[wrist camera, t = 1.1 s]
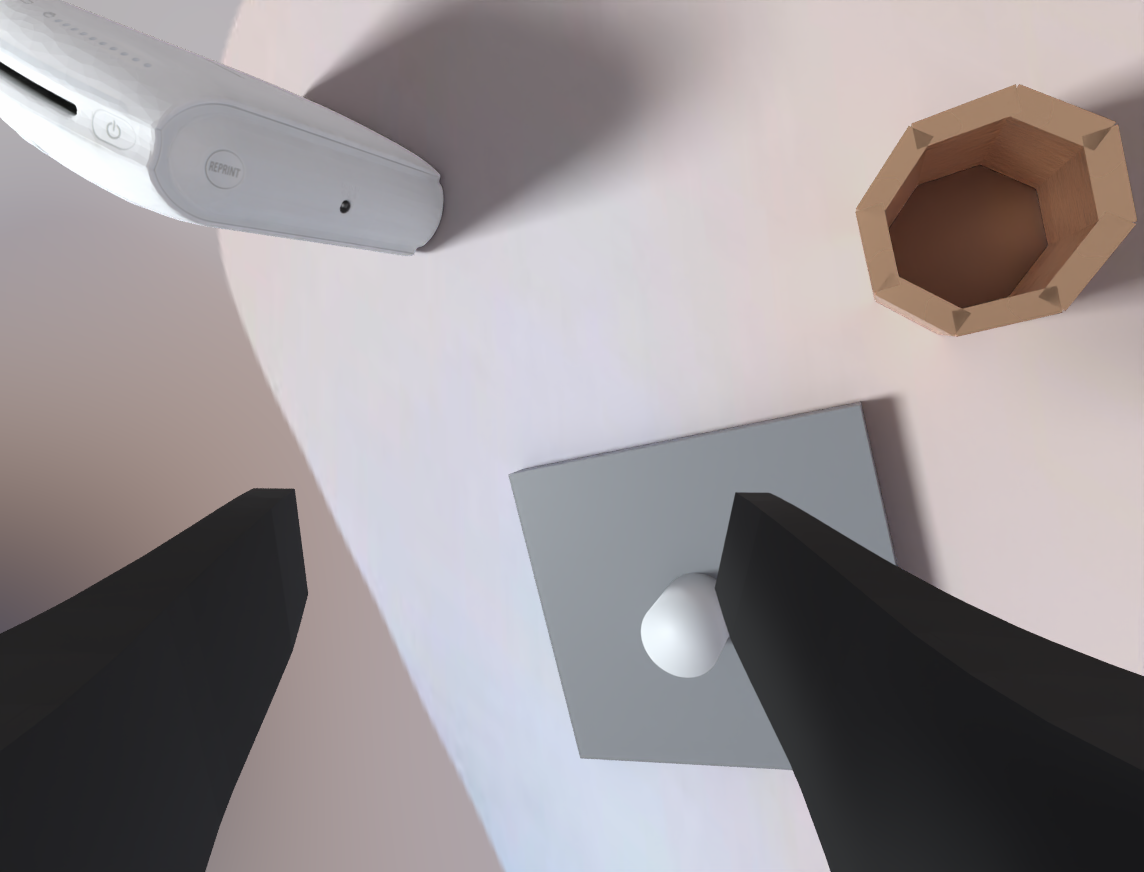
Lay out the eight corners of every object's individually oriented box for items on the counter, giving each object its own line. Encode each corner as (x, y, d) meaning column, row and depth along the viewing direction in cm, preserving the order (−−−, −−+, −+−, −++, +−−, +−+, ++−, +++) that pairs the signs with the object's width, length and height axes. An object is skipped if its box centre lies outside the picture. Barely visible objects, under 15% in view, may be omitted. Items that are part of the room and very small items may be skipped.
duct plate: (860, 401, 20) (857, 415, 17) (940, 758, 20) (951, 836, 17) (521, 469, 26) (471, 489, 23) (590, 743, 26) (551, 799, 23)
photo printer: (463, 171, 25) (133, 47, 14) (428, 272, 26) (106, 233, 15) (291, 85, 28) (-87, -70, 17) (268, 180, 30) (-93, 93, 19)
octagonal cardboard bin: (1050, 116, 17) (1104, 50, 13) (1087, 300, 17) (1151, 291, 13) (850, 187, 19) (842, 150, 15) (885, 347, 19) (886, 353, 15)
